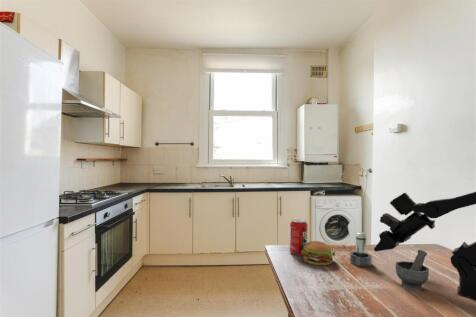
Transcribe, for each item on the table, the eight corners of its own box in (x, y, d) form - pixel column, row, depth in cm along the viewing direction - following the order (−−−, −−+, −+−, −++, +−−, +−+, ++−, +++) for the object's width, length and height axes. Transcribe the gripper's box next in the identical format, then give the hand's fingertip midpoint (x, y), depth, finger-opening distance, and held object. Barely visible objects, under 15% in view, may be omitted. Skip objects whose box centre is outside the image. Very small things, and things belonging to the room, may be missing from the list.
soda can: (286, 251, 128) (287, 218, 128) (301, 249, 130) (302, 218, 130) (294, 256, 120) (295, 222, 120) (310, 255, 123) (311, 221, 123)
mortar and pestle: (414, 295, 87) (414, 257, 87) (388, 282, 96) (389, 248, 96) (438, 290, 91) (438, 253, 91) (411, 278, 100) (412, 245, 100)
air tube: (365, 265, 112) (366, 235, 112) (355, 263, 113) (355, 233, 113) (366, 262, 115) (366, 232, 115) (355, 260, 117) (356, 231, 117)
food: (331, 270, 106) (332, 249, 106) (296, 262, 114) (297, 243, 114) (339, 259, 118) (339, 241, 118) (307, 253, 125) (307, 236, 125)
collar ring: (368, 268, 109) (368, 259, 109) (347, 263, 114) (347, 254, 114) (373, 262, 115) (373, 254, 115) (353, 258, 120) (353, 250, 120)
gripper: (402, 205, 112) (373, 227, 120) (385, 210, 99) (354, 234, 107) (424, 228, 106) (393, 249, 114) (410, 236, 93) (375, 260, 101)
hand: (379, 247), depth 109 cm, fingers open, 9 cm apart
